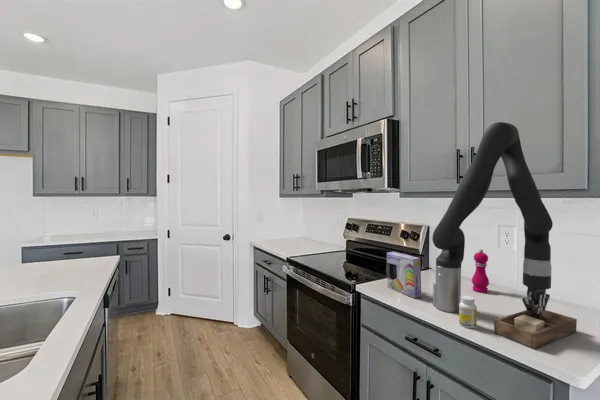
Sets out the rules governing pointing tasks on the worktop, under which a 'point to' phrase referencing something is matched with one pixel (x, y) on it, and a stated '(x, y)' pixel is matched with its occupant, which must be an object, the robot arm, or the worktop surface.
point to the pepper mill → (480, 273)
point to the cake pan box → (404, 274)
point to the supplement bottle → (467, 312)
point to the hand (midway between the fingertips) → (535, 323)
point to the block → (529, 323)
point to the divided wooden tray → (553, 331)
